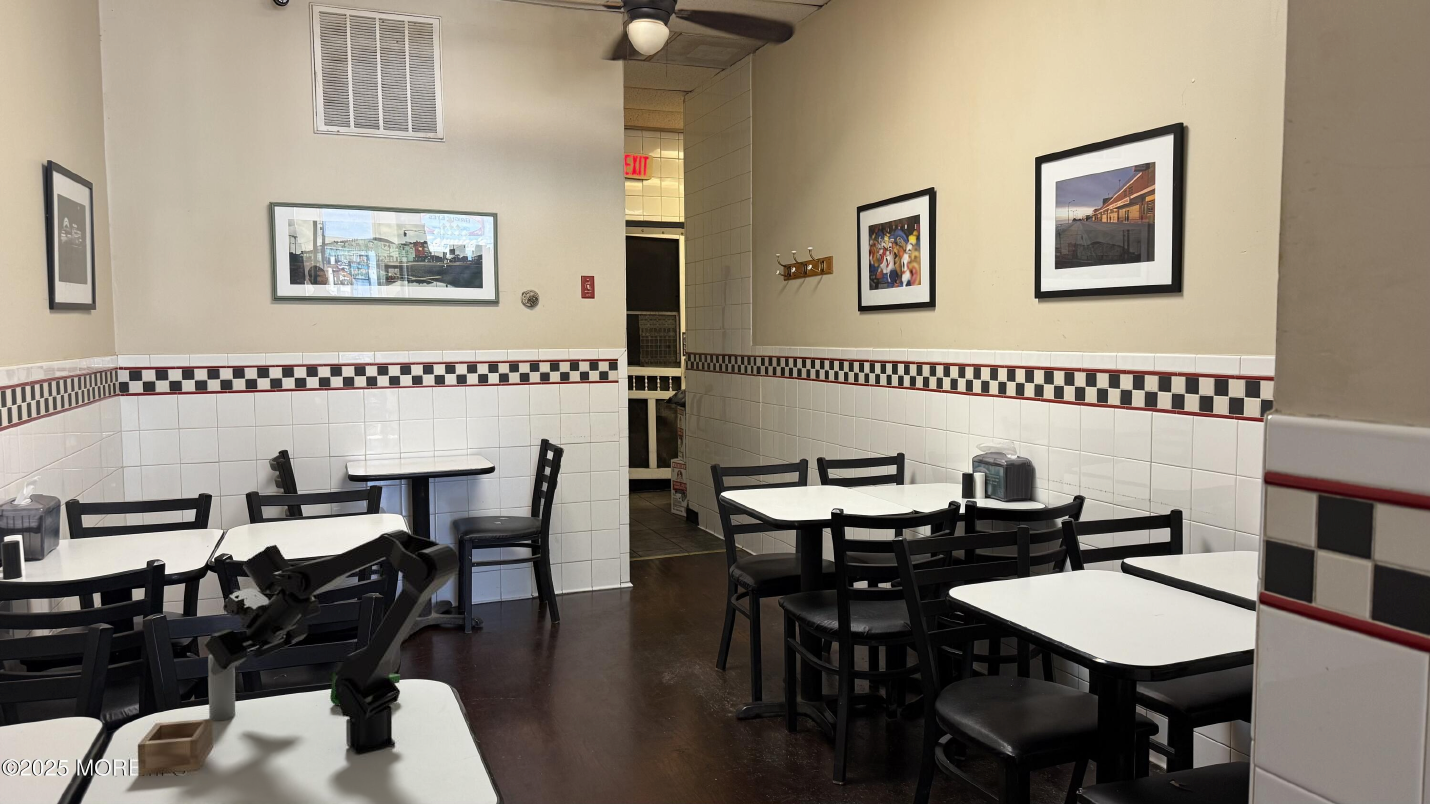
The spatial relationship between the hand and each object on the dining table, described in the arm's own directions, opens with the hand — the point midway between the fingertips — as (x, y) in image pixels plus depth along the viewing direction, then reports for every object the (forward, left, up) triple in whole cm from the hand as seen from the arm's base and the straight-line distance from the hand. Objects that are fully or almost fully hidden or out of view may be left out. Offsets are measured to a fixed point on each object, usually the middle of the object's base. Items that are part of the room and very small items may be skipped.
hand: (234, 664), depth 167 cm
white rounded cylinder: (+2, -2, -10) cm, 11 cm away
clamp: (-22, +5, -10) cm, 25 cm away
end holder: (+11, +13, -10) cm, 20 cm away
